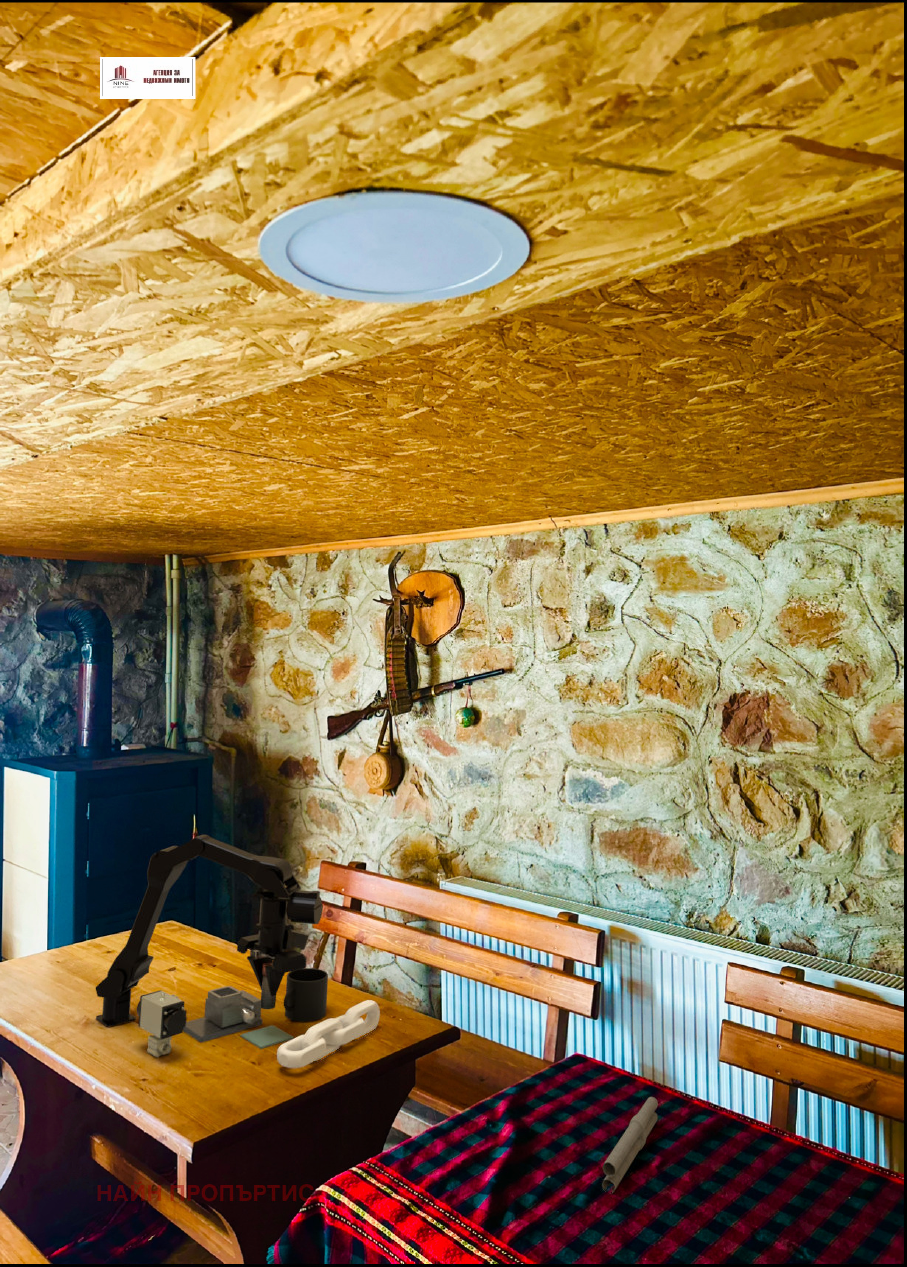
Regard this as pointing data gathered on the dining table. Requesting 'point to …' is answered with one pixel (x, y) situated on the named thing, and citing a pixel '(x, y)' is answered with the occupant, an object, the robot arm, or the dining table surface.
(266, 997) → the round metal peg
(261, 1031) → the mat
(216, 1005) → the bracket
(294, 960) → the robot arm
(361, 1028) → the chain
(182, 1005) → the pneumatic valve
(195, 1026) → the clamp base
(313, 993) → the mug
